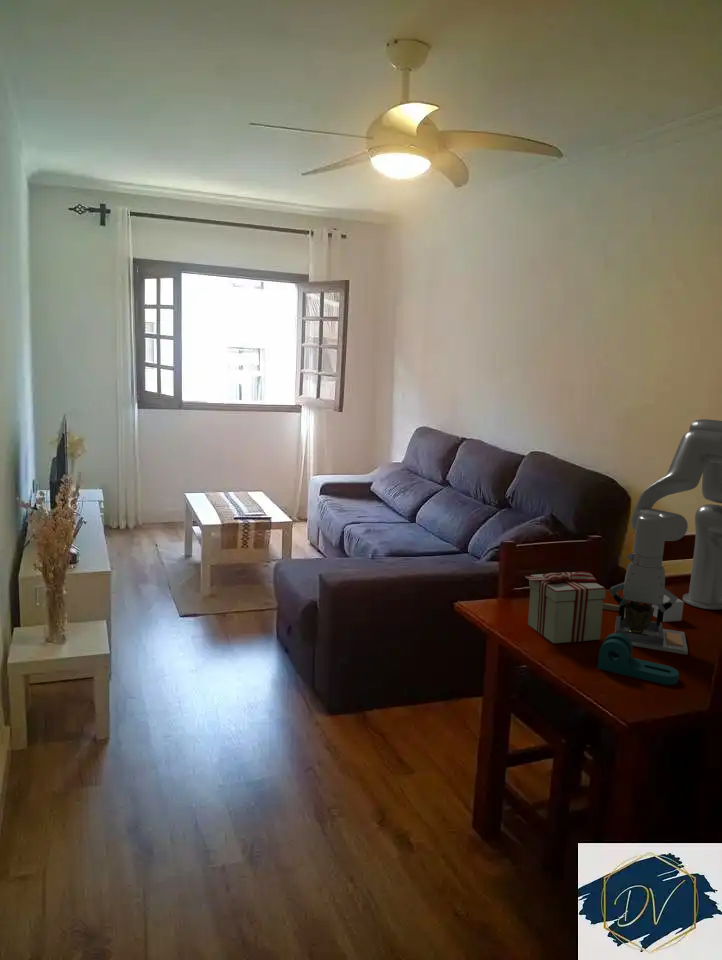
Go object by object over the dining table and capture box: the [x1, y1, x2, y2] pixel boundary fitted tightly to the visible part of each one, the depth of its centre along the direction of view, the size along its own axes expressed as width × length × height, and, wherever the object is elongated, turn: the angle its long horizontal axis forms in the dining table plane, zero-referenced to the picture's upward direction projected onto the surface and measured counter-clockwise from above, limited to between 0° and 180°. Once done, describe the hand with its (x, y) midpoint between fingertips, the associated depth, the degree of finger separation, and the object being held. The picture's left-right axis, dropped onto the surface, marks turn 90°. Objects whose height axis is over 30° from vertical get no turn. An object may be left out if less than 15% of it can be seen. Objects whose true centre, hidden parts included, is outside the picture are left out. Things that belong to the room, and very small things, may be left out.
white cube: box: [651, 595, 685, 623], centre depth 213 cm, size 6×6×6 cm
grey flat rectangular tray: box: [614, 615, 689, 655], centre depth 196 cm, size 14×18×3 cm
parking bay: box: [602, 602, 625, 617], centre depth 213 cm, size 12×12×2 cm
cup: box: [625, 601, 654, 634], centre depth 197 cm, size 8×7×8 cm
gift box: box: [524, 570, 607, 645], centre depth 198 cm, size 17×18×17 cm
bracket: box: [596, 632, 680, 686], centre depth 175 cm, size 18×7×8 cm, turn 61°
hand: (640, 621), depth 196 cm, fingers open, 8 cm apart
